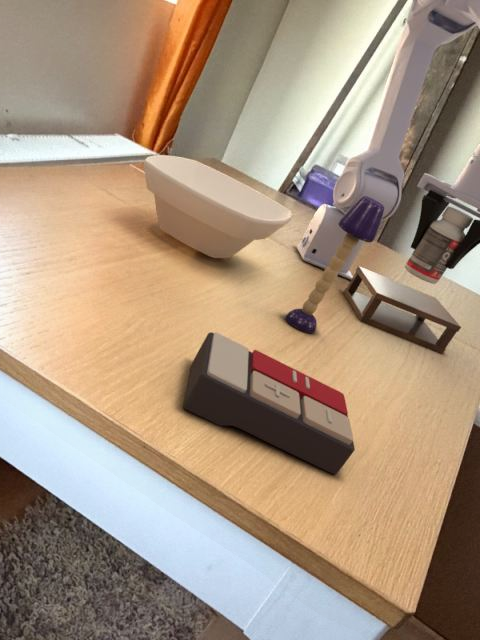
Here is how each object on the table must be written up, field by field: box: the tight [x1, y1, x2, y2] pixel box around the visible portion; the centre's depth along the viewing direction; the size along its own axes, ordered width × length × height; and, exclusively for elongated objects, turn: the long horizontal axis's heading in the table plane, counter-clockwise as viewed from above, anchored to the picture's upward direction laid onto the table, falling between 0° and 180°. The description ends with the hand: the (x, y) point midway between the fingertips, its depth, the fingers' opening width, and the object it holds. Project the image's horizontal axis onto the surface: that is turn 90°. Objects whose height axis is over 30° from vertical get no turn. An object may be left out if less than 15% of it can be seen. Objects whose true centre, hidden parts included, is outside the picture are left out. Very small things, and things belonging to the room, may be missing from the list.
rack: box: [342, 265, 462, 354], centre depth 114 cm, size 14×12×4 cm
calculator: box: [183, 331, 356, 475], centre depth 69 cm, size 11×4×15 cm
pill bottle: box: [404, 205, 474, 285], centre depth 109 cm, size 5×5×10 cm
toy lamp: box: [285, 196, 384, 334], centre depth 93 cm, size 5×5×17 cm
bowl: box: [143, 154, 293, 259], centre depth 107 cm, size 21×21×9 cm
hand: (431, 258), depth 110 cm, fingers closed on pill bottle, 5 cm apart
